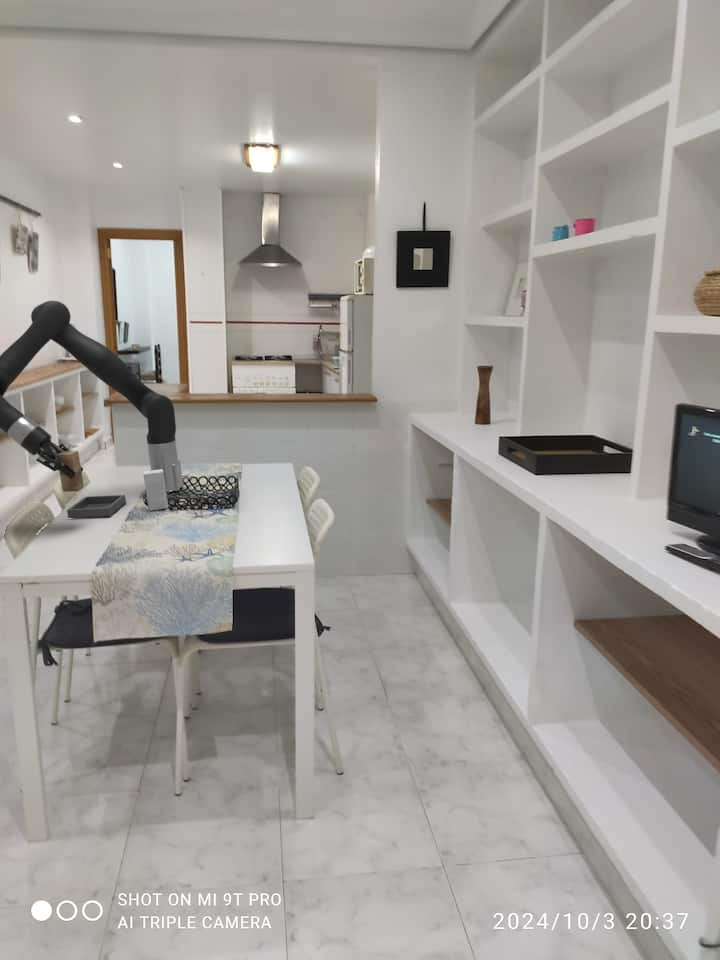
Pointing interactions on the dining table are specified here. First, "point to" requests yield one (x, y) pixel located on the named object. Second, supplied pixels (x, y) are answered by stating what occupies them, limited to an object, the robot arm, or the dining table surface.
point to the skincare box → (155, 489)
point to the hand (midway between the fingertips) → (77, 473)
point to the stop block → (74, 463)
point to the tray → (97, 507)
